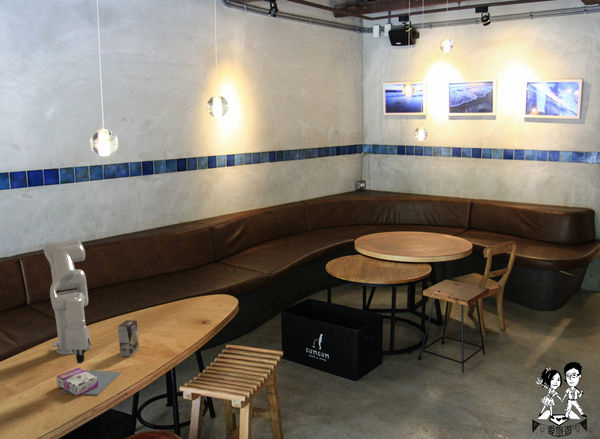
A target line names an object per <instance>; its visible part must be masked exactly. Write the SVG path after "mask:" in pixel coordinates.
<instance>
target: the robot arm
mask: <svg viewBox="0 0 600 439" xmlns="http://www.w3.org/2000/svg"><path fill="white" fill-rule="evenodd" d="M43 253H44V255H45V258H46V260H47V261H48V262H49V265H50V272H51V277H52V278H51V280H52V284H51V285H50V289H49V295H50V296H49V297H50V301H51V302H50V303H51V305H52V309H53V311H54V316H55V321H56V329H57V338H58V341H53V343H52V347H55V348H56V353H57V354H58V355H65V356H66V355H72V354H74V355H75V359H76V361H77V362H76V363H77V364H82V363H83V362H85V353H86V352H90V351H91V349H92V348H91V345H92V344H91V342H92V341H91V335H90V331H89V329H88V326H87V325H86V318H85V309H84V308H85V307H86V306H88V304H89V295H88V285H87V278H86V273H85V272H84V271H83V269H80V268H79V269H77V268H75V264H74V263H76V262H77V263H78V262H83V261H85V259H86V250H85V247H84V245H83V244H82V243H81V241H80V240H79V239H68V240H58V241H53V242H47V243H45V245H44V246H43ZM72 289H73V290H72ZM66 290H67V291H66ZM57 291H61V292H58V293H57Z"/></svg>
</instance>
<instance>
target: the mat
mask: <svg viewBox="0 0 600 439" xmlns="http://www.w3.org/2000/svg"><path fill="white" fill-rule="evenodd" d="M84 371H86V372H88V373H90V374H92V375H94V376H96V377H97V378H98V387H96V388H93V389H91V390H88V391H86V392H84V393H81V394H84V396H99V395H100V394H101V393H102V392H103V391H104V390H105V389H106V388H107V387H108V386H109V385H110V384H111V383H112V382H114V380H115V379H116V378H118V377H119V376H120V374H121V371H110V370H109V371H108V370H107V371H106V370H91V369H90V370H88V369H87V370H86V369H85V370H84ZM59 393H60V394H61V393H71V392H69V391H67V390H65V389H63V388H62V390H61V391H60V392H59ZM70 395H74V394H73V393H71V394H70Z"/></svg>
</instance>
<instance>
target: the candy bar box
mask: <svg viewBox="0 0 600 439" xmlns="http://www.w3.org/2000/svg"><path fill="white" fill-rule="evenodd" d="M56 385H57V386H58V387H60V388H61V389H62V390H63V389H65V390H67V391H69V392H71V393H73V394H72V395H75V396H79V394H81V393H84V392H86V391H88V390H91V389H93V388H96V387H98V378H97V377H96V376H94V375H92V374H90V373H88V372H86V371H85V370H83V369H81V368H79V367H76V368H74V369H71V370H68V371H66V372H64V373H61V374H58V375H56Z"/></svg>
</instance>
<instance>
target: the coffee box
mask: <svg viewBox="0 0 600 439" xmlns="http://www.w3.org/2000/svg"><path fill="white" fill-rule="evenodd" d="M117 332H118V342H119V344H118V345H119V355H120V356H121V357H132V356H134V355H135V354H136V353H137V352H138V351H139V350H140V342H139V340H140V339H139V330H138V320H137V319H136V320H135V319H134V320H133V319H132V320H131V319H129V320H128V319H126V320H125V321H123V322H122V323H120V324H119V325H118V326H117Z"/></svg>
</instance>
